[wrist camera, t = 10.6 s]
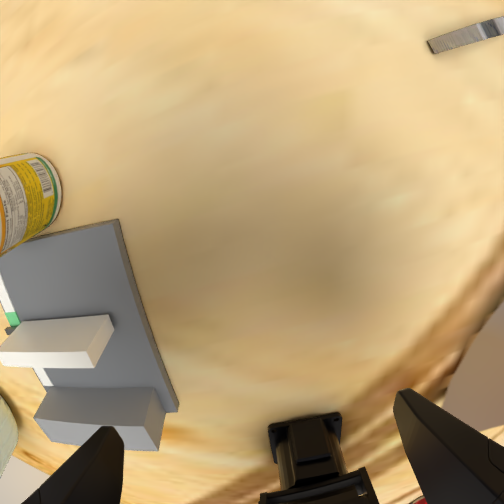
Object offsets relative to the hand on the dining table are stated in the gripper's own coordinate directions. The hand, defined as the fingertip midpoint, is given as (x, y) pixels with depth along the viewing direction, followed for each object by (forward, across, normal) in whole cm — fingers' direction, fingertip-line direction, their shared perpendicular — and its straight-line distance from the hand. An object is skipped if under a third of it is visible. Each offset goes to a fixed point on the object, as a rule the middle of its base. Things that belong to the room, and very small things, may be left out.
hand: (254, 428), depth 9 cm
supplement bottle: (+12, +13, -7) cm, 19 cm away
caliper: (+12, -23, -17) cm, 31 cm away
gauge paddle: (+11, +14, +2) cm, 18 cm away
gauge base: (+12, +13, +3) cm, 18 cm away
